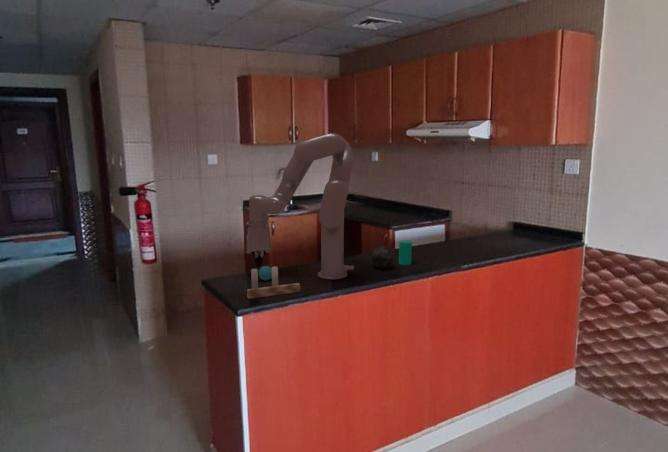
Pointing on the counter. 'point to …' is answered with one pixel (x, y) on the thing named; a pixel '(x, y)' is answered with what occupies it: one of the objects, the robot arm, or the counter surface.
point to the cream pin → (274, 276)
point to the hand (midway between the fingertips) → (258, 265)
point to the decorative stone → (382, 257)
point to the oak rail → (273, 290)
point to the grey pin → (254, 278)
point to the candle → (405, 252)
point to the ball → (265, 273)
